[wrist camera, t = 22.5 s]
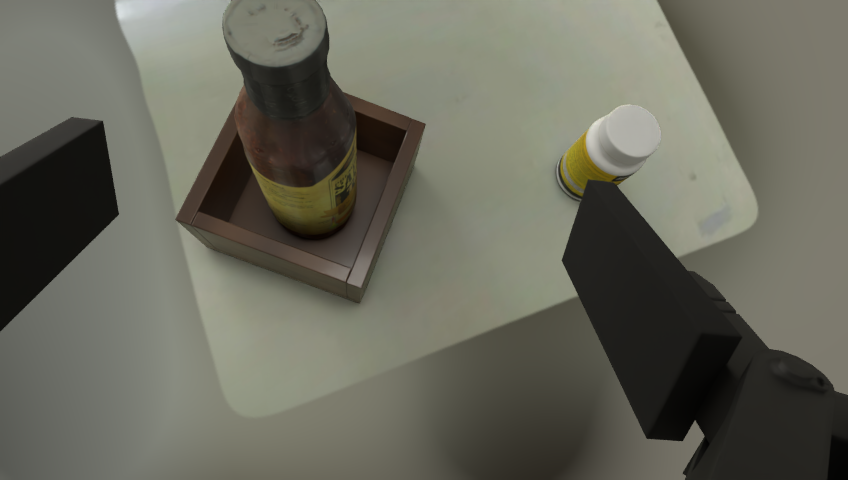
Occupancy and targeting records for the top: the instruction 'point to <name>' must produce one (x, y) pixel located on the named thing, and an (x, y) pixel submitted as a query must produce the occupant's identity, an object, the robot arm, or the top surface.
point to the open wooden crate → (270, 241)
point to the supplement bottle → (609, 149)
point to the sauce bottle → (293, 114)
